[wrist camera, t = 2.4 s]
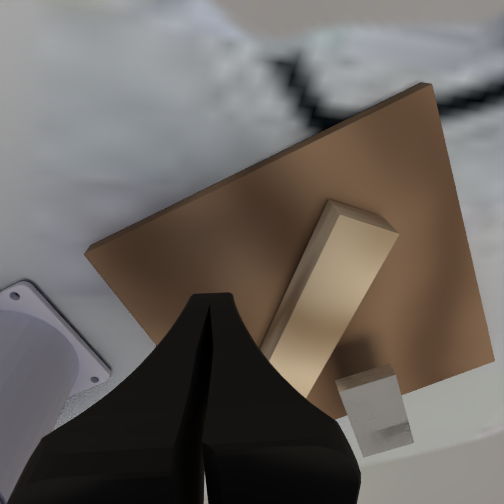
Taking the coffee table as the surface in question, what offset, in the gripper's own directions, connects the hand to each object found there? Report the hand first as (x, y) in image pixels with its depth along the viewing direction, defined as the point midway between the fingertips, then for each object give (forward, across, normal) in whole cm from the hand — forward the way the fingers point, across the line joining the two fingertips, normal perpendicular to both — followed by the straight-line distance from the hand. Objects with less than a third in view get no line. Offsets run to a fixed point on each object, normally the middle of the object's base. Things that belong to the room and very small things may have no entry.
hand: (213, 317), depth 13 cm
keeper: (+7, -8, +10) cm, 15 cm away
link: (+7, -4, +6) cm, 10 cm away
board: (+8, -5, +5) cm, 11 cm away
